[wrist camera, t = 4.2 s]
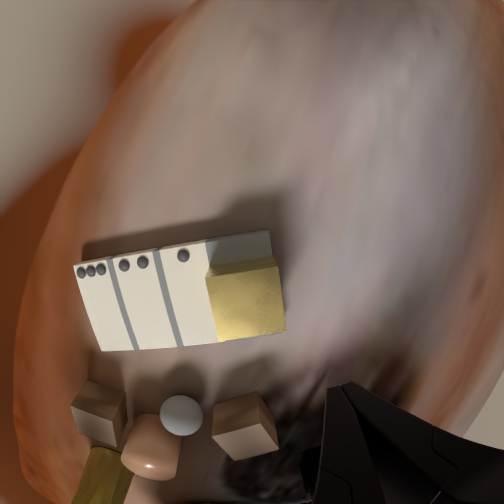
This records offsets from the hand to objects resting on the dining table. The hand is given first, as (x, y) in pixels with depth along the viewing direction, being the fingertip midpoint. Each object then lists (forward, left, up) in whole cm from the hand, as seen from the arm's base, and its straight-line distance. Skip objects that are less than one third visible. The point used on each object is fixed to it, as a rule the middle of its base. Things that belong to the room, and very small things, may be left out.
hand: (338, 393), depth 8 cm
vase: (+23, +21, -12) cm, 33 cm away
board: (+8, 0, -12) cm, 14 cm away
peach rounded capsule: (+14, +14, -12) cm, 23 cm away
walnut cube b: (+18, +10, -12) cm, 23 cm away
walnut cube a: (+5, +12, -12) cm, 18 cm away
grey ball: (+10, +10, -12) cm, 18 cm away
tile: (+3, 0, -11) cm, 11 cm away
